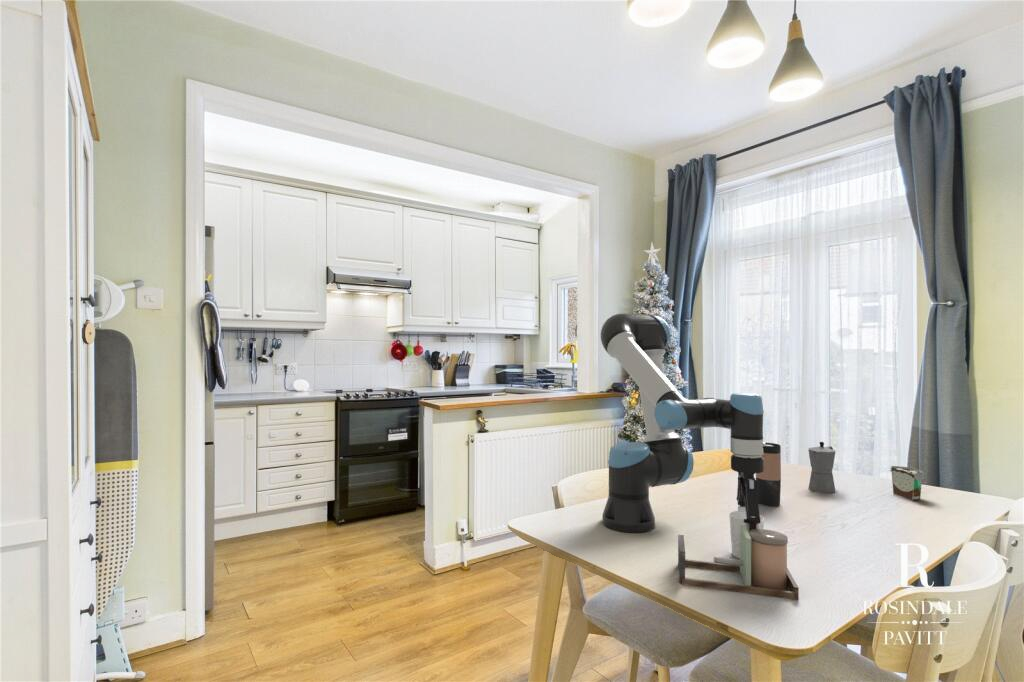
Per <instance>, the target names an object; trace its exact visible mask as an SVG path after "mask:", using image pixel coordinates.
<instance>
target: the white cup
mask: <svg viewBox="0 0 1024 682" xmlns="http://www.w3.org/2000/svg"><path fill="white" fill-rule="evenodd" d="M754 518H755V517H754ZM744 519H747V518H746V512H744V511H738V510H736V511H732V512H729V527H730V543H731V554H732V555H733V557H735V559H736V558H737V559H738V560H740V525H745V526H746V523H744ZM760 520H761V522H760V523H759V529H765V528H764V527H765V518H764V516H763V515H761V514H760Z"/></svg>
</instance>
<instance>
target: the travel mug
mask: <svg viewBox="0 0 1024 682" xmlns="http://www.w3.org/2000/svg"><path fill="white" fill-rule="evenodd" d="M765 443H766V446H763V455H761V457H763V459H764V471H763V472H762V473H755V480H757V482H758V484H757V491H758V503H759V505H761V506H765V507H779V506H781V488H782V487H781V486H782V485H781V482H782V467H781V466H782V464H781V463H782V462H781V461H782V460H781V459H782V457H781V455H782V454H781V451H782V450H781V449H782V448H781V444H779V443H773V442H765Z"/></svg>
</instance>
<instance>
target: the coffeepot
mask: <svg viewBox="0 0 1024 682" xmlns="http://www.w3.org/2000/svg"><path fill="white" fill-rule="evenodd" d="M819 445H820V446H814V447H813V446H812V447H808V450H807V451H808V457H809V461H810V462H809V463H810V467H811V473H810V478H809V482H808V483H809V484H808V490H810V491H812V492H817V493H824V494H834V493H836V486H835V481H834V473H833V469H834V465H835V464H834V463H835V457H836V452H837V451H836V450H835V449H834V448H833V446H831V445H830V446H825V442H824V441H819Z"/></svg>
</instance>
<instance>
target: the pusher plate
mask: <svg viewBox="0 0 1024 682" xmlns="http://www.w3.org/2000/svg"><path fill="white" fill-rule="evenodd" d="M713 563H721V564H729V565H737V566H740V572H739V573H740V576H741V578H742V581H743V585H745V586H752V585H751V537H750V535H749V533H748V531H747V529H746V526H745V525H740V559H736V558H735V559H734V558H727V557H716V556H715V557H713Z"/></svg>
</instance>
